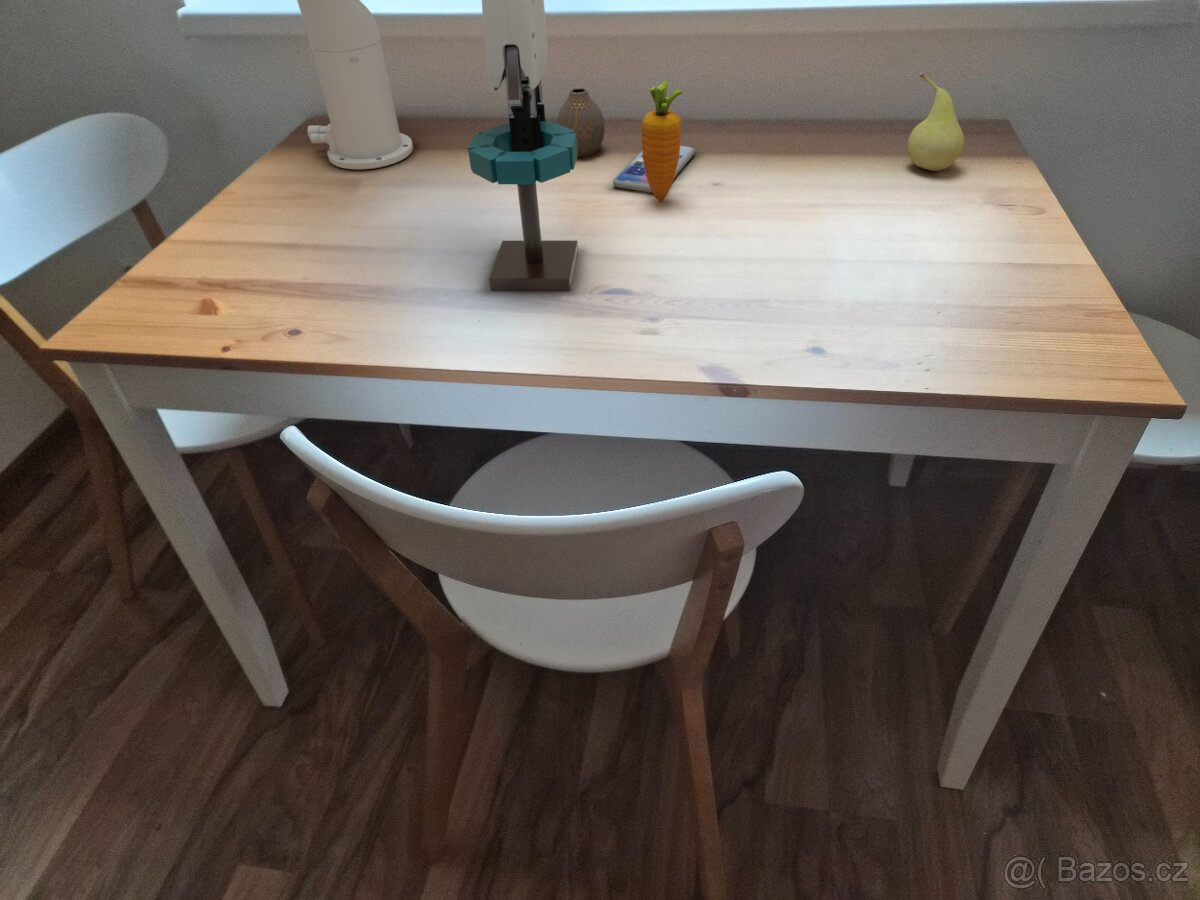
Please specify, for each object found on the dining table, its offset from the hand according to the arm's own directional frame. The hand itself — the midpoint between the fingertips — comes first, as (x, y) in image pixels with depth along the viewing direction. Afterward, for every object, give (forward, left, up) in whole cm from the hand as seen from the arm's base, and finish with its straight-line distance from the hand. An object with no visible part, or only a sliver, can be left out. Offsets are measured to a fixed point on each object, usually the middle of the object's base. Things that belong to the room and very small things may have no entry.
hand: (530, 146), depth 88 cm
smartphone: (+13, +24, -13) cm, 30 cm away
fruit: (+50, +24, -13) cm, 57 cm away
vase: (+2, +31, -13) cm, 34 cm away
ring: (0, -4, 0) cm, 4 cm away
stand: (0, -4, -13) cm, 13 cm away
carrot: (+14, +14, -13) cm, 24 cm away
